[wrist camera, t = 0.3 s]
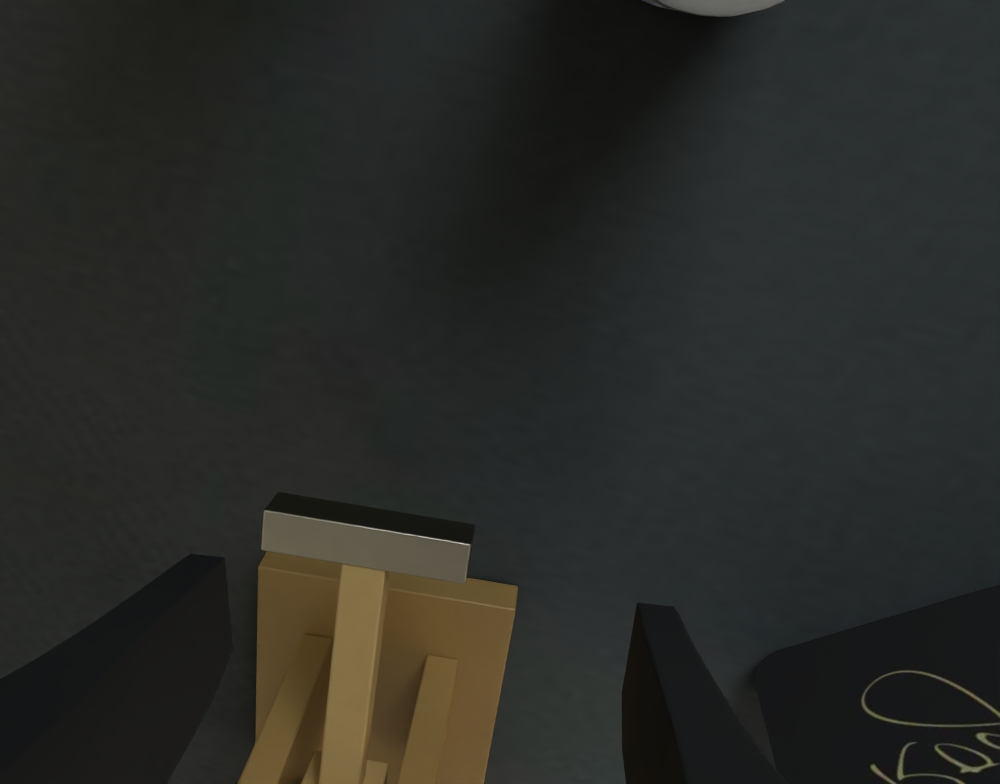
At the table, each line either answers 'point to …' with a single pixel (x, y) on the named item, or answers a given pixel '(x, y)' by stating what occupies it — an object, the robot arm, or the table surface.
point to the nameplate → (891, 699)
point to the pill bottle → (715, 6)
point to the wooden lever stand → (381, 673)
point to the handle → (361, 605)
